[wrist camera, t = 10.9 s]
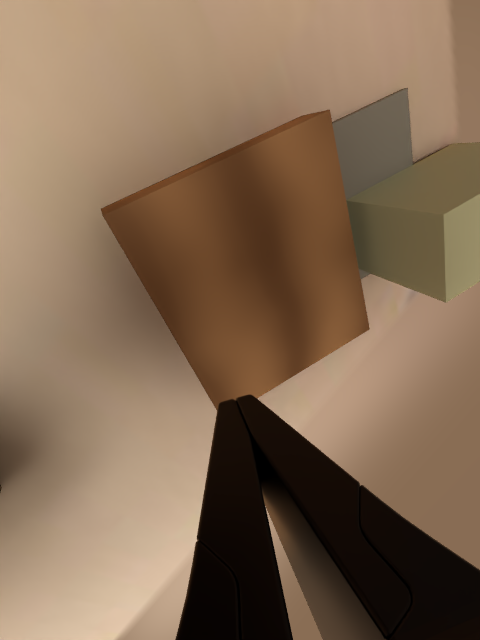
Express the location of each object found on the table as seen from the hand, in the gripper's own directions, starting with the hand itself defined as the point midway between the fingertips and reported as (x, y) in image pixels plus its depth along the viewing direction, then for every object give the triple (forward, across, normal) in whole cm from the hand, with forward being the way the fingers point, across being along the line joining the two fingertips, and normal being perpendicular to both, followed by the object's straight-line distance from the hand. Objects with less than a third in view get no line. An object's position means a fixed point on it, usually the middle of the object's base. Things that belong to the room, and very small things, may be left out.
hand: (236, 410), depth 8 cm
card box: (+10, -12, +1) cm, 16 cm away
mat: (+14, -13, -1) cm, 19 cm away
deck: (+13, -4, +2) cm, 14 cm away
